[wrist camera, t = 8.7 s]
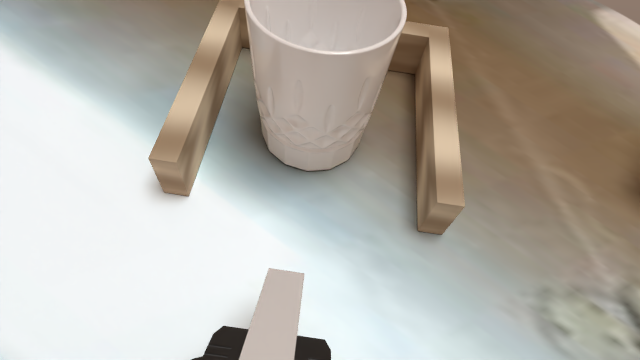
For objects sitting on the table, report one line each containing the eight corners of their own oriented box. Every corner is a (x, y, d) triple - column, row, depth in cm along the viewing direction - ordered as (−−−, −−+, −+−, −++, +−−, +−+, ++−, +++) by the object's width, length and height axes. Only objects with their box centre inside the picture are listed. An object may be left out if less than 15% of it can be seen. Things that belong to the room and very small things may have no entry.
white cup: (293, 76, 30) (299, -61, 22) (385, 121, 29) (430, -9, 20) (230, 144, 26) (208, 8, 18) (333, 200, 25) (362, 79, 16)
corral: (442, 234, 24) (464, 206, 21) (164, 192, 24) (148, 158, 21) (432, 64, 32) (448, 27, 30) (228, 32, 32) (223, -8, 29)
